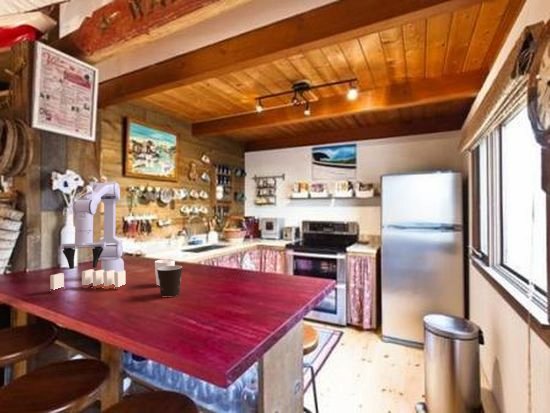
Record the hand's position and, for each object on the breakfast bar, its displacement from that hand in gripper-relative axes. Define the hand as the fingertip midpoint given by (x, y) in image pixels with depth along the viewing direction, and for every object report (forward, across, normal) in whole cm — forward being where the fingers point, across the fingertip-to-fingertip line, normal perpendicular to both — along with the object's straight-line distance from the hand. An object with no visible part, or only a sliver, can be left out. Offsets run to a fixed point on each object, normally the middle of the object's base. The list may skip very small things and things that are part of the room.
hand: (83, 268), depth 113 cm
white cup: (+10, +28, +8) cm, 31 cm away
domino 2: (+9, -3, +14) cm, 17 cm away
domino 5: (+10, +11, +8) cm, 16 cm away
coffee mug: (+11, +32, -7) cm, 34 cm away
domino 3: (+9, +2, +12) cm, 15 cm away
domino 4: (+9, +6, +10) cm, 15 cm away
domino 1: (+9, -12, +10) cm, 18 cm away
